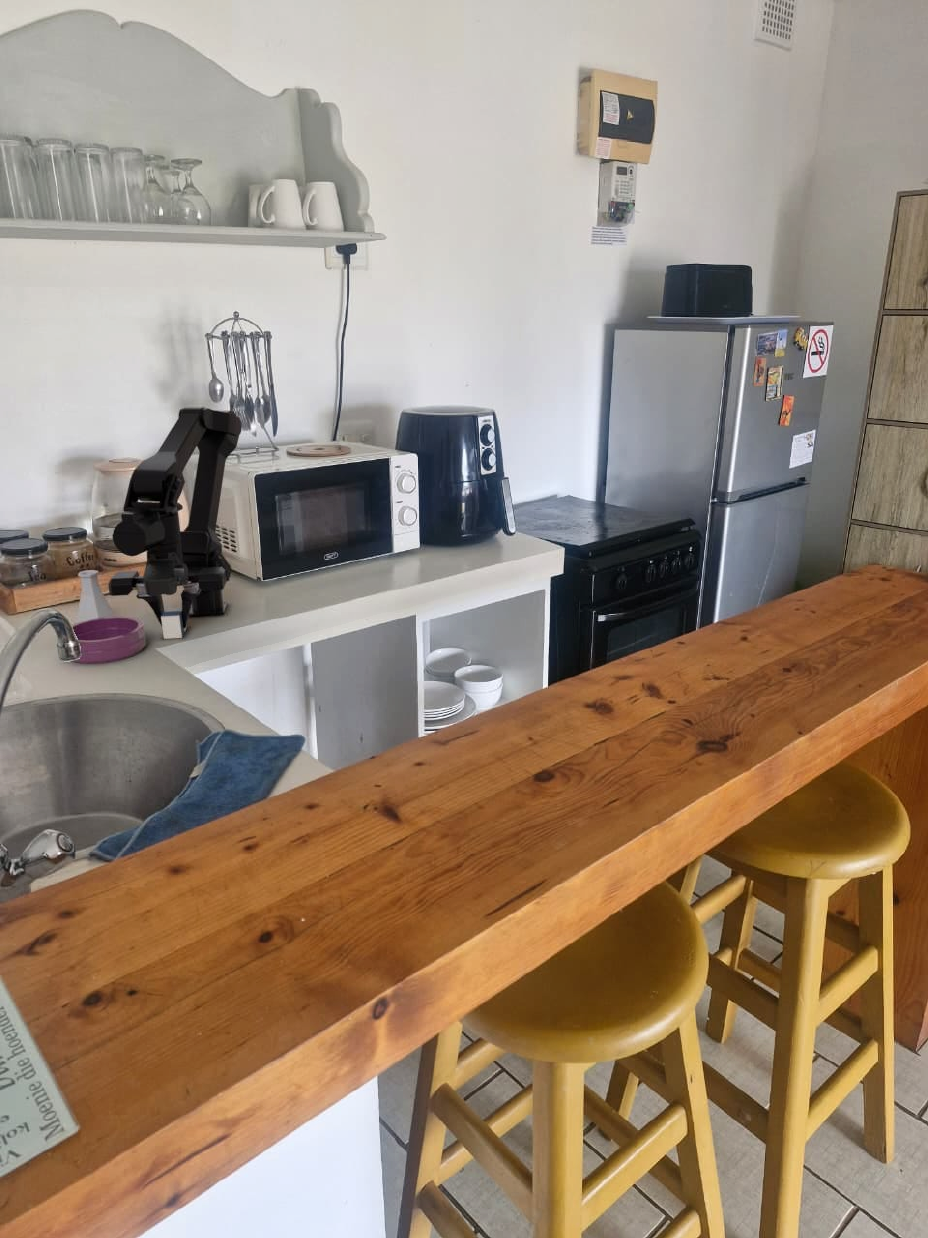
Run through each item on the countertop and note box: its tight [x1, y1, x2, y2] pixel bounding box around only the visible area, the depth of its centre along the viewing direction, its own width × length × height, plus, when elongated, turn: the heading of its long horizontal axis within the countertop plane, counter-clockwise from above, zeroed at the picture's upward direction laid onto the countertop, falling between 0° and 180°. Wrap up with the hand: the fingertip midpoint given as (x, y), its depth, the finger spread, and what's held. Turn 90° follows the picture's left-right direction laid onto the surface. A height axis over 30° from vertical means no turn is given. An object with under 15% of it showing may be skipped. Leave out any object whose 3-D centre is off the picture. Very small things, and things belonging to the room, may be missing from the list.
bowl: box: [72, 615, 147, 665], centre depth 144 cm, size 13×13×4 cm
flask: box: [74, 569, 117, 624], centre depth 155 cm, size 7×7×10 cm
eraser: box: [161, 606, 188, 640], centre depth 152 cm, size 6×3×4 cm, turn 8°
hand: (174, 627), depth 152 cm, fingers closed on eraser, 3 cm apart
